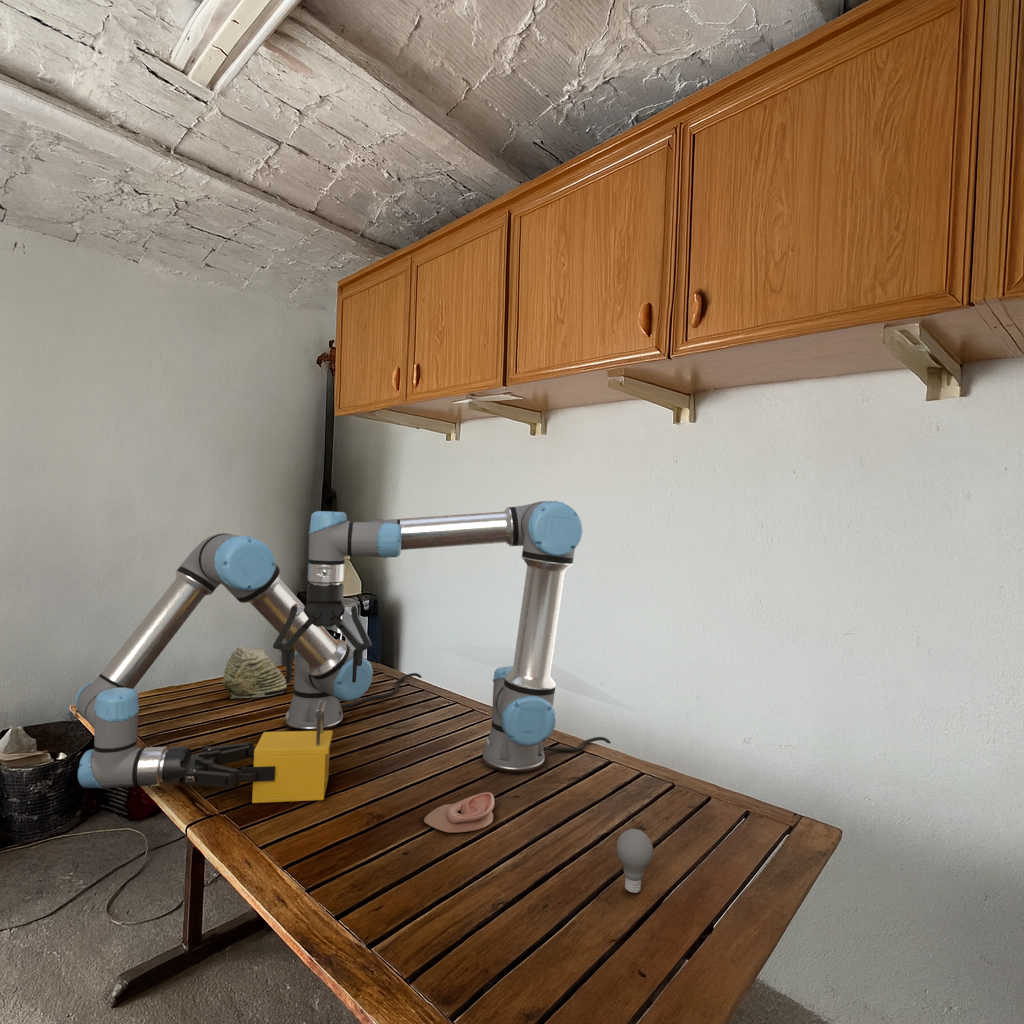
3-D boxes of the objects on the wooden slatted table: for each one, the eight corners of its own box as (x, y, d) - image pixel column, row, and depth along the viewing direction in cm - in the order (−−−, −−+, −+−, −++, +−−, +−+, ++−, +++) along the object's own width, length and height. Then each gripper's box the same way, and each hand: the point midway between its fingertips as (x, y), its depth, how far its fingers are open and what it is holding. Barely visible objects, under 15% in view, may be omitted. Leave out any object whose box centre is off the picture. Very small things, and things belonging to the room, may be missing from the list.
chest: (328, 778, 142) (330, 736, 142) (323, 800, 132) (325, 754, 132) (261, 781, 140) (263, 737, 140) (252, 803, 130) (253, 756, 130)
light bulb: (610, 879, 108) (613, 822, 108) (644, 879, 109) (647, 822, 109) (619, 902, 102) (622, 840, 102) (655, 901, 103) (658, 840, 103)
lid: (332, 736, 142) (334, 696, 142) (328, 754, 132) (329, 711, 132) (263, 737, 140) (265, 697, 139) (253, 756, 130) (255, 712, 129)
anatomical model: (419, 808, 122) (437, 782, 134) (418, 828, 122) (437, 801, 134) (485, 817, 120) (499, 791, 131) (484, 838, 120) (498, 810, 131)
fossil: (218, 695, 195) (220, 647, 195) (278, 685, 208) (279, 640, 207) (228, 703, 189) (230, 653, 188) (289, 692, 201) (290, 645, 201)
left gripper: (183, 761, 142) (286, 758, 147) (145, 810, 120) (268, 805, 124) (184, 728, 142) (288, 725, 146) (146, 771, 120) (269, 767, 124)
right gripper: (261, 584, 130) (257, 686, 131) (384, 586, 135) (380, 685, 135) (268, 579, 138) (264, 676, 138) (384, 581, 142) (381, 675, 143)
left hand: (279, 762), depth 135 cm, fingers closed on chest, 10 cm apart
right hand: (321, 681), depth 137 cm, fingers open, 13 cm apart
